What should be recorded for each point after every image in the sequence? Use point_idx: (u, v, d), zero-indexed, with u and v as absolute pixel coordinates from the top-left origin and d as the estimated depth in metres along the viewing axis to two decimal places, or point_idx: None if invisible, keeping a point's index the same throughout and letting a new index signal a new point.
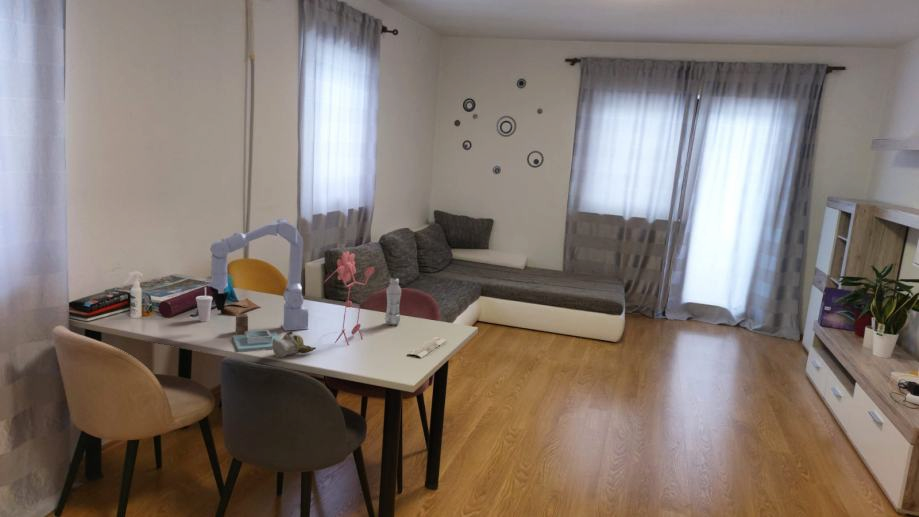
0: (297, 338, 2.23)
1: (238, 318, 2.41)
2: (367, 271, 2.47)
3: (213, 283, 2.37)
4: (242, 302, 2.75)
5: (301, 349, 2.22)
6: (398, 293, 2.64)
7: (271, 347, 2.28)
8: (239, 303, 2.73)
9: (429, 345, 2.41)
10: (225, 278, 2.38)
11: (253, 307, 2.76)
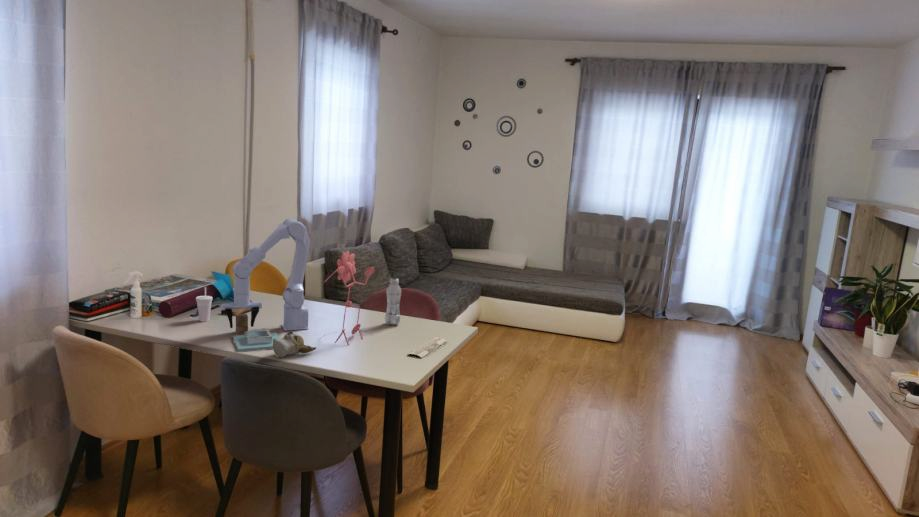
0: (297, 338, 2.23)
1: (238, 318, 2.41)
2: (367, 271, 2.47)
3: None
4: None
5: (301, 349, 2.22)
6: (398, 293, 2.64)
7: (271, 347, 2.28)
8: None
9: (429, 345, 2.41)
10: (237, 299, 2.39)
11: None
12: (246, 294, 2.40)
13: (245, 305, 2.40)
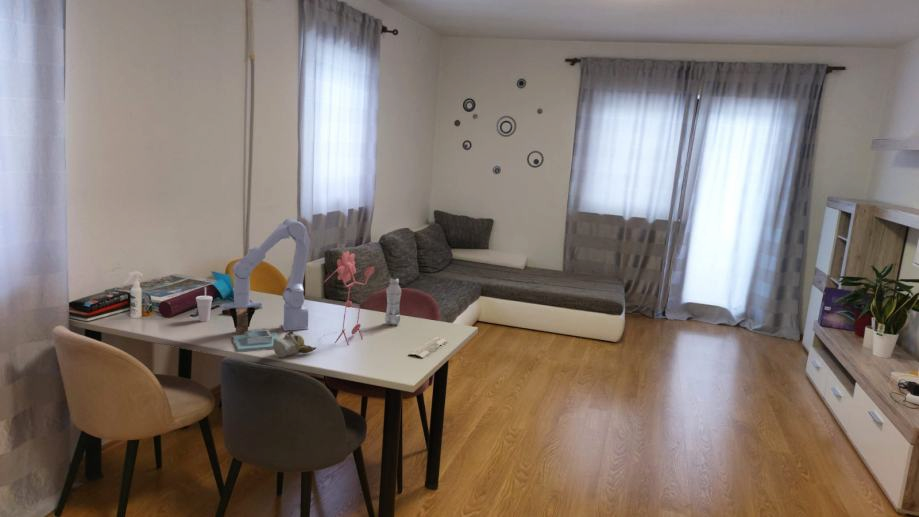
0: (298, 338, 2.23)
1: (238, 318, 2.41)
2: (367, 271, 2.47)
3: None
4: None
5: (302, 349, 2.22)
6: (398, 293, 2.64)
7: (271, 347, 2.28)
8: None
9: (430, 345, 2.41)
10: (237, 299, 2.39)
11: None
12: (246, 294, 2.40)
13: (245, 305, 2.40)
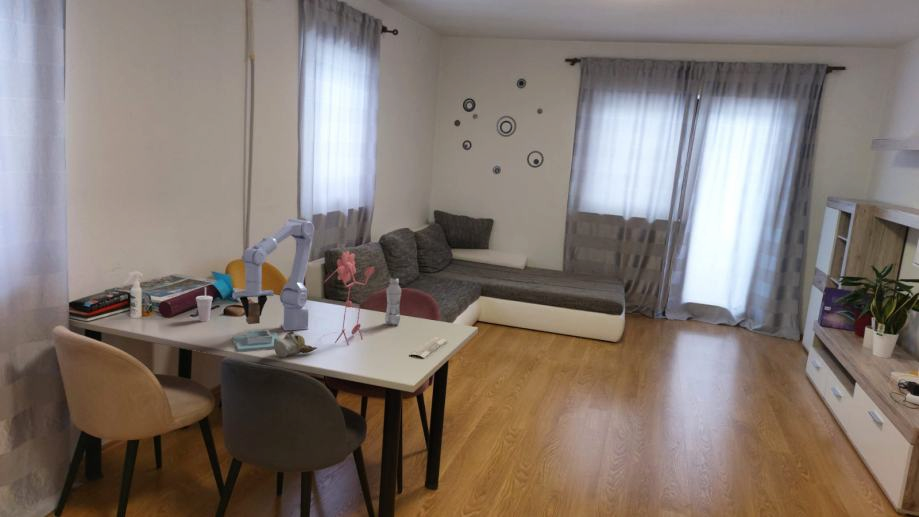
0: (298, 338, 2.23)
1: (250, 307, 2.32)
2: (367, 271, 2.47)
3: None
4: None
5: (302, 349, 2.23)
6: (398, 293, 2.64)
7: (271, 347, 2.28)
8: None
9: (430, 345, 2.41)
10: (249, 286, 2.31)
11: None
12: (258, 281, 2.32)
13: (257, 293, 2.32)
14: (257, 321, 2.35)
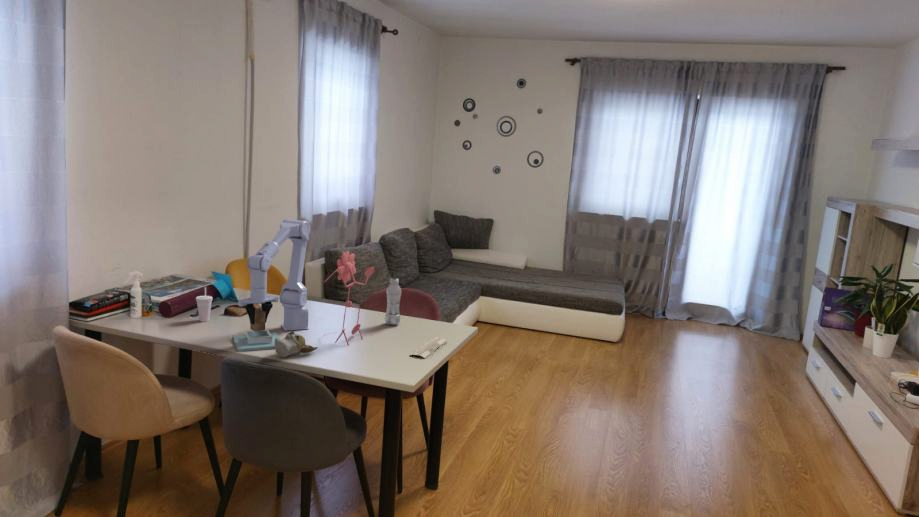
0: (299, 338, 2.23)
1: (256, 314, 2.30)
2: (367, 271, 2.47)
3: None
4: None
5: (303, 349, 2.23)
6: (398, 293, 2.64)
7: (271, 347, 2.28)
8: None
9: (431, 345, 2.41)
10: (255, 293, 2.28)
11: (256, 308, 2.76)
12: (264, 288, 2.29)
13: (264, 300, 2.29)
14: (263, 328, 2.32)
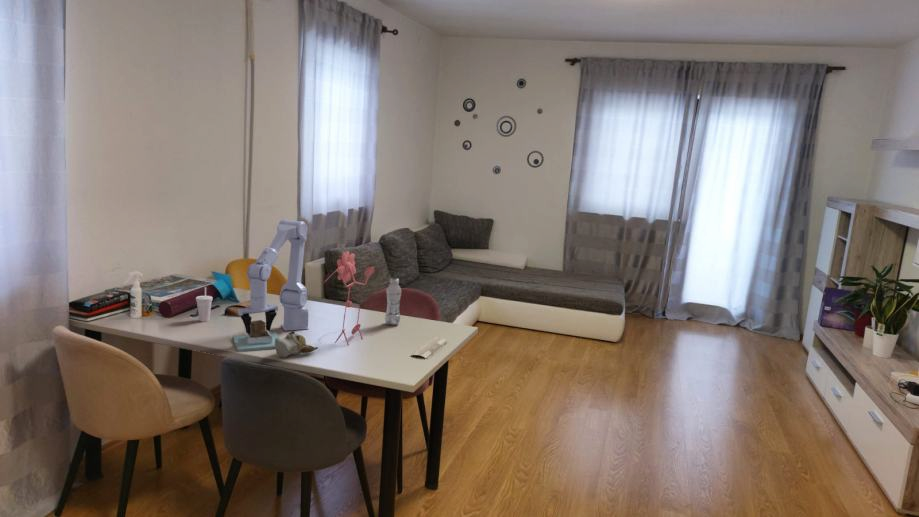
0: (299, 338, 2.23)
1: (256, 325, 2.30)
2: (367, 271, 2.47)
3: None
4: (246, 303, 2.74)
5: (303, 349, 2.23)
6: (398, 293, 2.64)
7: (271, 347, 2.28)
8: (243, 304, 2.72)
9: (431, 345, 2.41)
10: (255, 302, 2.28)
11: None
12: (264, 297, 2.30)
13: (264, 309, 2.30)
14: None
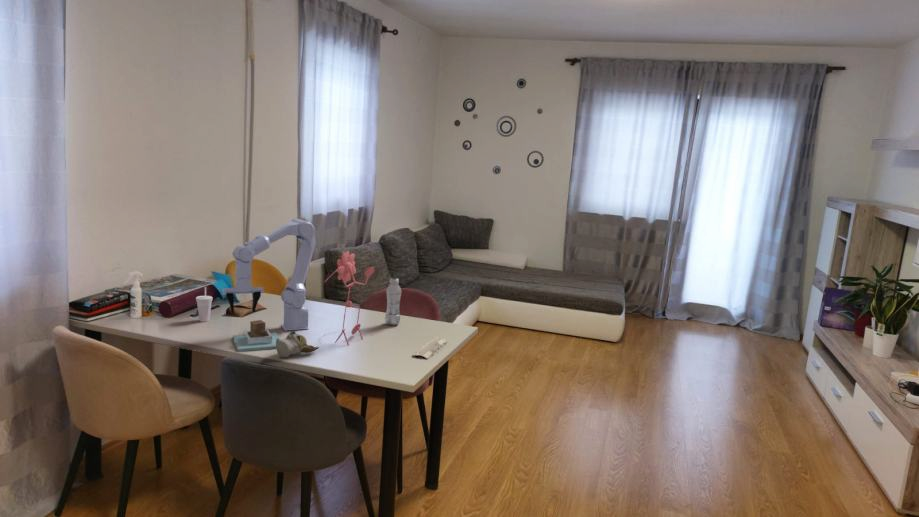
0: (300, 338, 2.23)
1: (256, 325, 2.30)
2: (367, 271, 2.47)
3: None
4: (247, 303, 2.74)
5: (304, 349, 2.23)
6: (398, 293, 2.64)
7: (271, 347, 2.28)
8: (244, 304, 2.72)
9: (432, 345, 2.41)
10: (238, 283, 2.35)
11: (258, 308, 2.75)
12: (248, 278, 2.35)
13: (247, 289, 2.36)
14: None
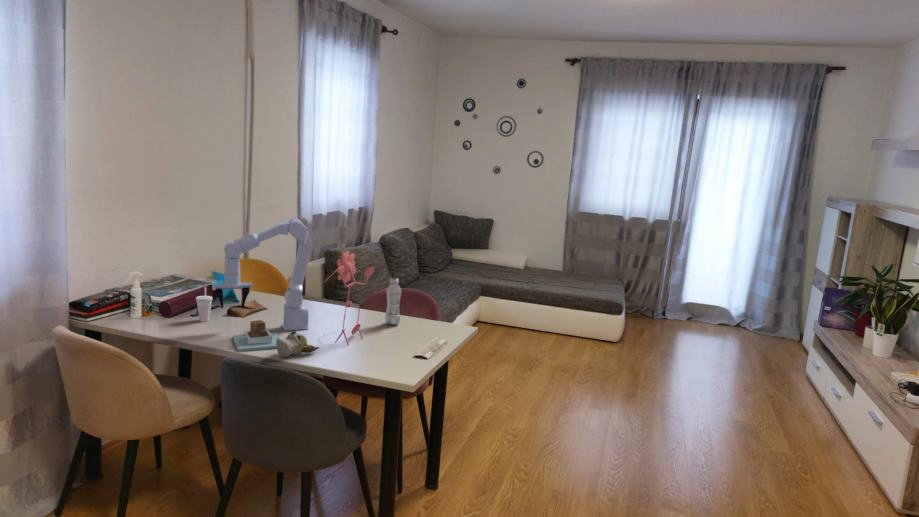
0: (301, 338, 2.23)
1: (256, 325, 2.30)
2: (367, 271, 2.47)
3: None
4: (249, 303, 2.74)
5: (305, 349, 2.23)
6: (398, 293, 2.64)
7: (271, 347, 2.28)
8: (245, 304, 2.71)
9: (432, 345, 2.41)
10: (227, 279, 2.40)
11: (260, 308, 2.75)
12: (236, 274, 2.41)
13: (235, 285, 2.41)
14: None
